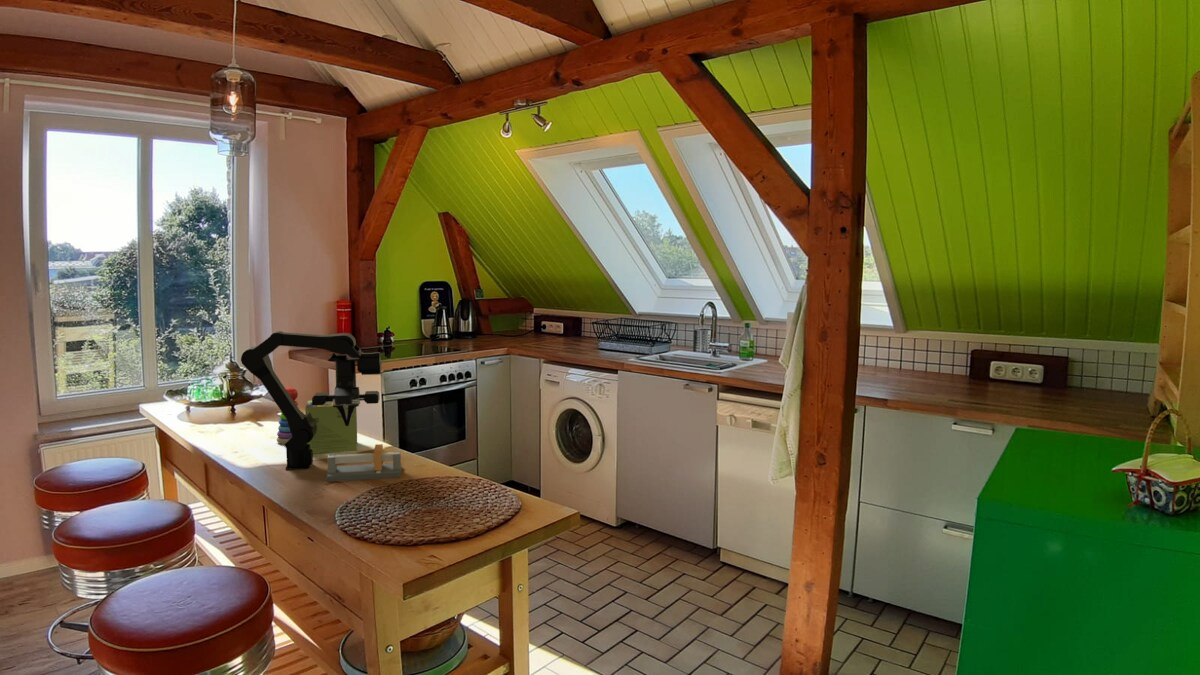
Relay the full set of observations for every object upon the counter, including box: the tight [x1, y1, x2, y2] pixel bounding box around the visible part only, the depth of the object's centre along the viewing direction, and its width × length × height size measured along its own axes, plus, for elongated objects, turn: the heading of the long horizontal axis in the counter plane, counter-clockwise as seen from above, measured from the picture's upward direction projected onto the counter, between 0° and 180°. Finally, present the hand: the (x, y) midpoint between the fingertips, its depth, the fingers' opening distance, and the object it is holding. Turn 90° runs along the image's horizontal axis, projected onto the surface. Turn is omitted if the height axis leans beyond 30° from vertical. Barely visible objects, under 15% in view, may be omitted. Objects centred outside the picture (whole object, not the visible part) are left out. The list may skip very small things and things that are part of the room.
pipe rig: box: [326, 450, 402, 482], centre depth 198 cm, size 20×9×6 cm, turn 104°
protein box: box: [304, 400, 358, 455], centre depth 222 cm, size 10×15×16 cm
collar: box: [373, 443, 384, 471], centre depth 199 cm, size 2×6×6 cm, turn 13°
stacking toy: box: [276, 386, 299, 445], centre depth 228 cm, size 8×8×19 cm
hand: (347, 425), depth 206 cm, fingers closed
